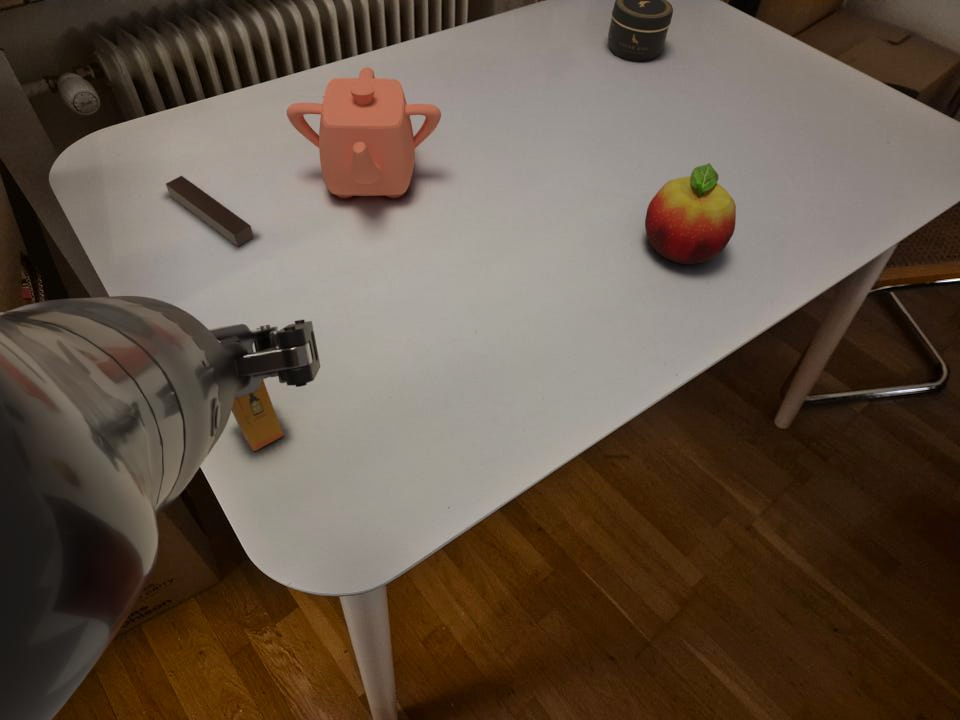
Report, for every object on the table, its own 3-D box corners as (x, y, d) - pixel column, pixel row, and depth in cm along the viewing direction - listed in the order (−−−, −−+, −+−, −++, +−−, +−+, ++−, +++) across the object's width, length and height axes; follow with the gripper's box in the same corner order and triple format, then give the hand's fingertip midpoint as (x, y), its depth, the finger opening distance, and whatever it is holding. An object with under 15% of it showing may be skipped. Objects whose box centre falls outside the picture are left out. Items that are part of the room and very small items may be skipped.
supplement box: (269, 412, 67) (247, 350, 59) (284, 437, 65) (264, 376, 57) (237, 428, 66) (211, 366, 58) (252, 453, 64) (227, 394, 56)
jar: (602, 58, 115) (611, 12, 109) (608, 31, 121) (617, -14, 115) (660, 67, 114) (673, 22, 108) (663, 40, 120) (675, -4, 114)
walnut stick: (238, 247, 81) (234, 234, 80) (170, 196, 86) (165, 183, 85) (254, 237, 82) (250, 225, 81) (186, 187, 87) (181, 175, 86)
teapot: (369, 130, 98) (361, 41, 87) (452, 175, 92) (454, 86, 82) (281, 183, 89) (261, 92, 79) (367, 236, 84) (357, 145, 73)
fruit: (627, 260, 84) (647, 195, 76) (649, 210, 90) (670, 146, 82) (711, 288, 81) (741, 225, 73) (728, 235, 88) (757, 172, 80)
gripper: (293, 265, 23) (304, 273, 39) (-181, 337, 20) (37, 314, 36) (333, 469, 24) (328, 397, 40) (-111, 565, 21) (71, 447, 37)
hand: (190, 358), depth 38 cm, fingers open, 8 cm apart
